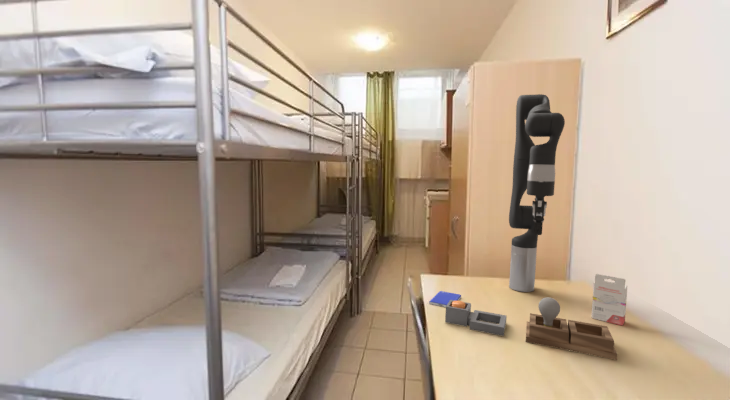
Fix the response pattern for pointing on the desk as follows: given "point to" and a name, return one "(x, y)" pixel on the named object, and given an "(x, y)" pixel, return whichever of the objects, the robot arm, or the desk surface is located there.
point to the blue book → (444, 298)
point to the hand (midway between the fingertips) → (537, 232)
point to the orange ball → (458, 304)
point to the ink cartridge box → (609, 299)
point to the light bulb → (549, 310)
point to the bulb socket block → (475, 319)
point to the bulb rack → (572, 336)
